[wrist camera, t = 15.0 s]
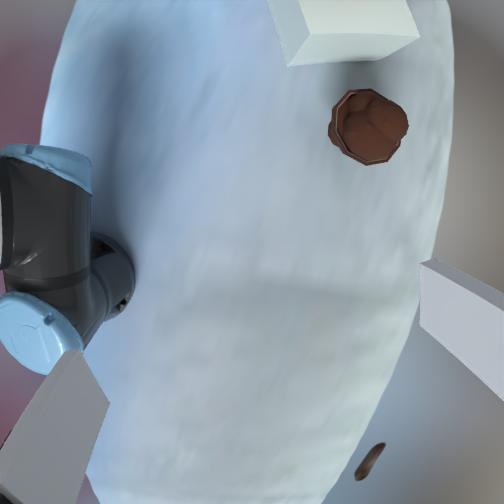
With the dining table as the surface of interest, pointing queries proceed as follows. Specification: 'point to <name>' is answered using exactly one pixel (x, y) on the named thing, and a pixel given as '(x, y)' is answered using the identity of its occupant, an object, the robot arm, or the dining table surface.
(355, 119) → the ice cream bowl
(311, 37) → the white box with knob
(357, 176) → the dining table surface
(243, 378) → the dining table surface
